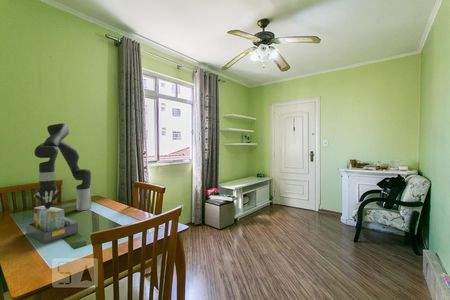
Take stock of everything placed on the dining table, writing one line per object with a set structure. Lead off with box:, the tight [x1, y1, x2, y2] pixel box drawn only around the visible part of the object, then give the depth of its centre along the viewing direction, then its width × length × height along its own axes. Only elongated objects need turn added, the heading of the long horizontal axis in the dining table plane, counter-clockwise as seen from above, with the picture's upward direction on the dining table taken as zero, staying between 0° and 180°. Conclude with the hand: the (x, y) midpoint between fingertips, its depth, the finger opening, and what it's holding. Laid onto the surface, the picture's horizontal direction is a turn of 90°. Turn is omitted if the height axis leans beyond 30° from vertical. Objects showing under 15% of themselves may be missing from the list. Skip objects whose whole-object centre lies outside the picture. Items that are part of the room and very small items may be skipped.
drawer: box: [25, 216, 79, 245], centre depth 126 cm, size 16×26×8 cm, turn 60°
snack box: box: [33, 205, 65, 233], centre depth 125 cm, size 21×6×15 cm, turn 69°
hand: (47, 208), depth 125 cm, fingers closed
